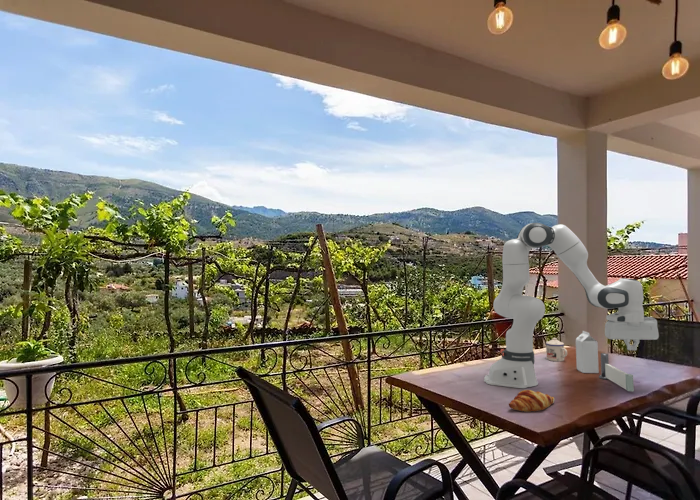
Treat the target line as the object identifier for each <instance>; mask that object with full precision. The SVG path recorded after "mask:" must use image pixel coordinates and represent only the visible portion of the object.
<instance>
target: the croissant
mask: <svg viewBox="0 0 700 500" xmlns="http://www.w3.org/2000/svg"><path fill="white" fill-rule="evenodd" d="M554 403H555V397H554V396H551V395H549V394H547V393H542V392H541V391H538V390H537V391H534V390H532V389H523V390H521V391H519V392H518V393H517V395H516V396H514V399H512V400H510V402H508V406H509V408H511V410H515V411H519V412H523V411H524V412H525V413H526V412H531V411H534V412H538V411H543V410H546V409H547V408H549V407H550V406H551V405H552V404H554Z"/></svg>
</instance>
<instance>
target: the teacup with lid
mask: <svg viewBox="0 0 700 500" xmlns="http://www.w3.org/2000/svg"><path fill="white" fill-rule="evenodd" d="M545 348H546V360H548V361H550V362H564V361H565V358H566V357H567V355H568V350H567V348H565V343H564V342H562V341H560V340H558V338H557V337H553V338H552V339H550V340H549V341H548V340H547V341H545Z"/></svg>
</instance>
